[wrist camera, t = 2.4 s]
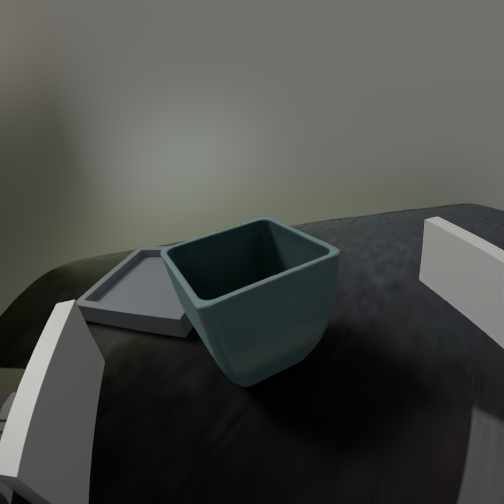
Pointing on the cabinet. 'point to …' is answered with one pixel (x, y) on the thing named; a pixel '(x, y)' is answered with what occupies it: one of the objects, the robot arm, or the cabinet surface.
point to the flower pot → (255, 294)
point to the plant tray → (137, 296)
